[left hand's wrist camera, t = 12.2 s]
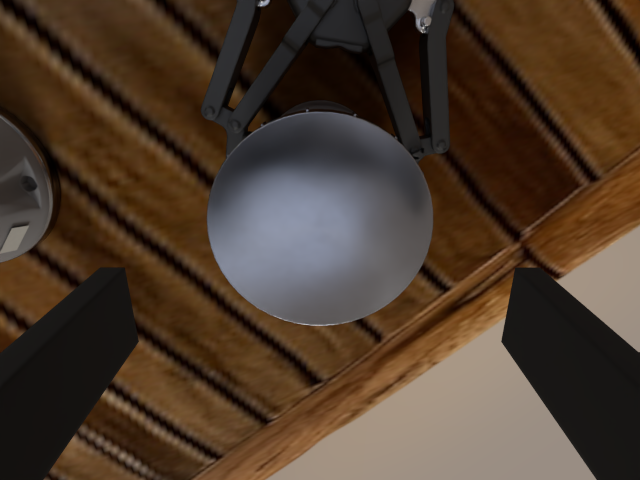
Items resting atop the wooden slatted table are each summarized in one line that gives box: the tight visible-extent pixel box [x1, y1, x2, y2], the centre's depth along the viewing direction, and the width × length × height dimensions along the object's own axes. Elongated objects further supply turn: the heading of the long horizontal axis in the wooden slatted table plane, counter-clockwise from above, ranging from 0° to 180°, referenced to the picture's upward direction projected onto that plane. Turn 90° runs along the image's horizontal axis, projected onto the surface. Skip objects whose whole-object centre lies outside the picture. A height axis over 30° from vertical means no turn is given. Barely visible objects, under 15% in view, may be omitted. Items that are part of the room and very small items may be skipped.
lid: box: [207, 108, 433, 326], centre depth 21 cm, size 11×11×2 cm
